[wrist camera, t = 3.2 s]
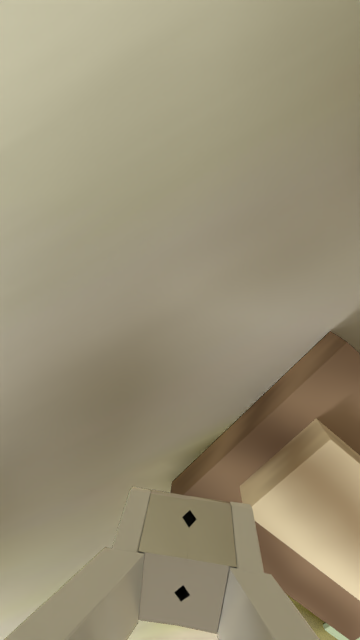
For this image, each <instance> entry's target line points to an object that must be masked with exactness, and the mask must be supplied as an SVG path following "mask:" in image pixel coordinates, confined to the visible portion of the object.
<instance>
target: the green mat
mask: <svg viewBox="0 0 360 640" xmlns="http://www.w3.org/2000/svg"><path fill="white" fill-rule="evenodd" d="M323 627H324V630H326V631H327V632H328V633H330V634H331V635H332V636H334V637H335V638H337V639H338V640H349V639H347V638H346V637H345V636H343V635H342V634H341V633H339V632H338V631H337V630H335V629H334V628H332V627H331V626H330V625H328V624H327V623H325V624H323ZM356 640H360V637H359V638H358V639H356Z"/></svg>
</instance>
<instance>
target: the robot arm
mask: <svg viewBox="0 0 360 640" xmlns="http://www.w3.org/2000/svg"><path fill="white" fill-rule="evenodd" d="M138 620H142V621H149V622H156V623H163V624H171V625H178V626H182V627H187V628H192V629H196V630H201V631H206V632H211V633H215V634H218V635H217V637H218V640H320V639H319V638H318V637H317V635H316V634H315V633H314V631H313V630H312V629H311V627H310V626H309V624H308V623H307V622H306V620H305V619H304V618H303V616H302V615H301V614H300V612H299V611H298V610H297V608H296V607H295V606H294V604H293V603H292V602H291V600H290V599H289V598H288V596H287V595H286V594H285V592H284V591H283V590H282V588H281V587H280V586H279V584H278V583H277V581H276V580H275V579H274V577H273V576H272V575H271V574H266V573H264V569H263V563H262V558H261V552H260V547H259V542H258V536H257V531H256V525H255V520H254V514H253V509H252V507H251V505H250V504H244V503H236V502H228V501H221V500H214V499H207V498H200V497H193V496H185V495H180V494H174V493H169V492H163V491H157V490H149V489H143V488H138V487H133V486H132V488H131V489H130V491H129V494H128V497H127V500H126V504H125V507H124V510H123V513H122V517H121V520H120V523H119V526H118V529H117V533H116V536H115V539H114V542H113V545H112V548H107V547H105V548H104V549H103V550H102V551H100V552H99V553H98V554H97V555H96V556H95V557H94V558H93V559H92V560H91V561H89V562H88V563H87V564H86V565H85V566H84V567H83V568H82V569H81V570H80V571H79V572H77V573H76V574H75V575H74V576H73V577H72V578H71V579H70V580H69V581H68V582H66V583H65V584H64V585H63V586H62V587H61V588H60V589H59V590H58V591H57V592H55V593H54V594H53V595H52V596H51V597H50V598H49V599H48V600H47V601H46V602H45V603H43V604H42V605H41V606H40V607H39V608H38V609H37V610H36V611H35V612H34V613H32V614H31V615H30V616H29V617H28V618H27V619H26V620H25V621H24V622H23V623H21V624H20V625H19V626H18V627H17V628H16V629H15V630H14V631H13V632H12V633H11V634H9V635H8V636H7V637H6V638H5V639H4V640H127V639H128V637H129V636H130V634H131V633H132V631H133V630H134V628H135V627H136V625H137V624H138Z"/></svg>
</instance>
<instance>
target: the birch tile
mask: <svg viewBox="0 0 360 640" xmlns="http://www.w3.org/2000/svg"><path fill="white" fill-rule="evenodd" d="M240 492H241V497H242V503H244V504H250V505H251V507H252V509H253V514H254V520H255V521H256V522H257V523H258V524H260V525H261V526H262V527H264V528H265V529H266V530H268V531H269V532H270V533H272V534H273V535H274V536H275V537H277V538H278V539H279V540H281V541H282V542H283V543H285V544H286V545H287V546H289V547H290V548H291V549H293V550H294V551H295V552H296V553H298V554H299V555H300V556H302V557H303V558H304V559H306V560H307V561H308V562H310V563H311V564H312V565H314V566H315V567H316V568H317V569H319V570H320V571H321V572H323V573H324V574H325V575H327V576H328V577H329V578H331V579H332V580H333V581H335V582H336V583H337V584H338V585H340V586H341V587H342V588H344V589H345V590H346V591H348V592H349V593H350V594H352V595H353V596H354V597H356V598H357V599H358V600H359V601H360V455H359V454H358V453H356V452H355V451H354V450H353V449H352V448H351V447H349V446H348V445H347V444H346V443H345V442H343V441H342V440H341V439H340V438H339V437H338V436H336V435H335V434H334V433H333V432H332V431H330V430H329V429H328V428H327V427H326V426H325V425H323V424H322V423H321V422H320V421H319V420H317V419H315V420H314V421H313V422H311V423H310V424H309V425H308V426H307V427H306V428H305V429H304V430H302V431H301V432H300V433H299V434H298V435H297V436H296V437H295V438H293V439H292V440H291V441H290V442H289V443H288V444H287V445H285V446H284V447H283V448H282V449H281V450H280V451H279V452H278V453H276V454H275V455H274V456H273V457H272V458H271V459H270V460H269V461H267V462H266V463H265V464H264V465H263V466H262V467H261V468H260V469H258V470H257V471H256V472H255V473H254V474H253V475H252V476H250V477H249V478H248V479H247V480H246V481H245V482H244V483H243V484H241V485H240Z"/></svg>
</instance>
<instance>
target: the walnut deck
mask: <svg viewBox="0 0 360 640" xmlns="http://www.w3.org/2000/svg"><path fill="white" fill-rule="evenodd" d="M315 419H317V420H319V421H320V422H321V423H322V424H323V425H325V426H326V427H327V428H328V429H329V430H330V431H332V432H333V433H334V434H335V435H336V436H338V437H339V438H340V439H341V440H342V441H343V442H345V443H346V444H347V445H348V446H349V447H351V448H352V449H353V450H354V451H355V452H356V453H358V454H359V455H360V353H359V352H358V351H356V350H355V349H354V348H353V347H352V346H351V345H350V344H349V343H348V342H346V341H345V340H343V339H342V338H340V337H339V336H337V335H336V334H334V333H332V332H331V331H330V332H329V333H328V334H327V335H326V336H325V337H324V338H322V339H321V340H320V341H319V342H318V343H317V344H316V345H315V346H314V347H313V348H312V349H311V350H310V351H309V352H308V353H307V354H306V355H305V356H304V357H303V358H302V359H301V360H299V361H298V362H297V363H296V364H295V365H294V366H293V367H292V368H291V369H290V370H289V371H288V372H287V373H286V374H285V375H284V376H283V377H282V378H281V379H280V380H279V381H278V382H276V383H275V384H274V385H273V386H272V387H271V388H270V389H269V390H268V391H267V392H266V393H265V394H264V395H263V396H262V397H261V398H260V399H259V400H258V401H257V402H256V403H254V404H253V405H252V406H251V407H250V408H249V409H248V410H247V411H246V412H245V413H244V414H243V415H242V416H241V417H240V418H239V419H238V420H237V421H236V422H235V423H234V424H233V425H231V426H230V427H229V428H228V429H227V430H226V431H225V432H224V433H223V434H222V435H221V436H220V437H219V438H218V439H217V440H216V441H215V442H214V443H213V444H212V445H211V446H210V447H208V448H207V449H206V450H205V451H204V452H203V453H202V454H201V455H200V456H199V457H198V458H197V459H196V460H195V461H194V462H193V463H192V464H191V465H190V466H189V467H188V468H186V469H185V470H184V471H183V472H182V473H181V474H180V475H179V476H178V477H177V478H176V479H175V480H174V481H173V482H172V486H171V493H174V494H180V495H185V496H193V497H200V498H207V499H214V500H221V501H228V502H236V503H242V497H241V492H240V485H241V484H243V483H244V482H245V481H246V480H247V479H248V478H249V477H250V476H252V475H253V474H254V473H255V472H256V471H257V470H258V469H260V468H261V467H262V466H263V465H264V464H265V463H266V462H267V461H269V460H270V459H271V458H272V457H273V456H274V455H275V454H276V453H278V452H279V451H280V450H281V449H282V448H283V447H284V446H285V445H287V444H288V443H289V442H290V441H291V440H292V439H293V438H295V437H296V436H297V435H298V434H299V433H300V432H301V431H302V430H304V429H305V428H306V427H307V426H308V425H309V424H310V423H311V422H313V421H314V420H315ZM255 525H256V531H257V536H258V542H259V547H260V552H261V558H262V563H263V569H264V573H266V574H271V575H272V576H273V577H274V579H275V580H276V581H277V583H278V584H279V586H280V587H281V588H282V590H283V591H284V592H285V593H286V594H287V595H289V596H290V597H292V598H293V599H294V600H296V601H297V602H298V603H300V604H301V605H302V606H304V607H305V608H307V609H308V610H309V611H311V612H312V613H313V614H315V615H316V616H317V617H319V618H320V619H322V620H323V621H324V622H326V623H327V624H328V625H330V626H331V627H332V628H334V629H335V630H337V631H338V632H339V633H341V634H342V635H343V636H345V637H346V638H347V639H349V640H356V639H358V638H359V637H360V601H359V600H358V599H357V598H356V597H354V596H353V595H352V594H350V593H349V592H348V591H346V590H345V589H344V588H342V587H341V586H340V585H338V584H337V583H336V582H335V581H333V580H332V579H331V578H329V577H328V576H327V575H325V574H324V573H323V572H321V571H320V570H319V569H317V568H316V567H315V566H314V565H312V564H311V563H310V562H308V561H307V560H306V559H304V558H303V557H302V556H300V555H299V554H298V553H296V552H295V551H294V550H293V549H291V548H290V547H289V546H287V545H286V544H285V543H283V542H282V541H281V540H279V539H278V538H277V537H275V536H274V535H273V534H272V533H270V532H269V531H268V530H266V529H265V528H264V527H262V526H261V525H260V524H258V523H257V522H256V521H255Z"/></svg>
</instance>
